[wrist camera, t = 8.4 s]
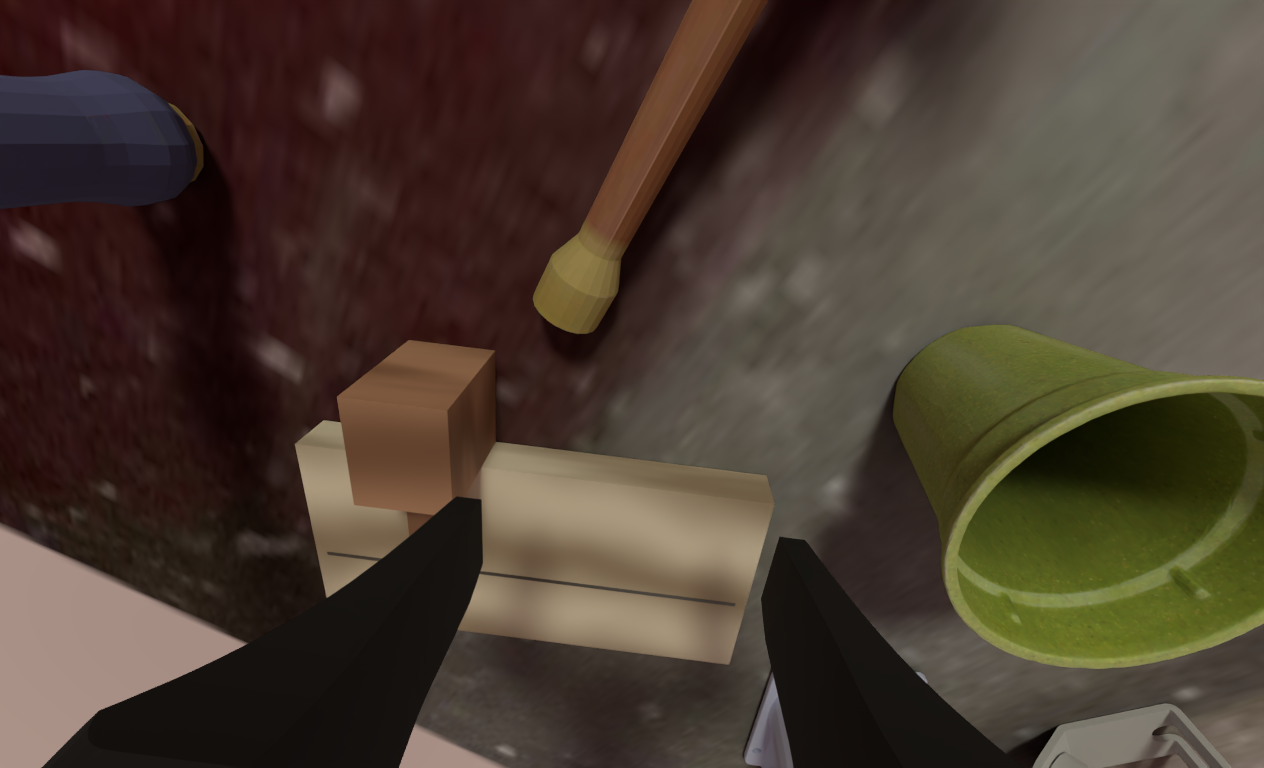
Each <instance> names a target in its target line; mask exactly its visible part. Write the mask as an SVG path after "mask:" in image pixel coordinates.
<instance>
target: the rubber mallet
mask: <svg viewBox="0 0 1264 768" xmlns="http://www.w3.org/2000/svg"><path fill="white" fill-rule="evenodd" d="M202 168H203V145H202V143H201V141H200V139H199V136H198V134H197V132H196V130H195V127H194V125H193V124H192V123H191V122H190V121H189V120H188V119H187V118H186V117H185V115H184V114H183V113H182V112H181V111H180V110H179V109H178V108H177V107H176V106H174V105H172V104H170V103H168V102H167V101H165V100H163V99H162V98H160V97H159V96H157V95H156V94H154V93H152V92H151V91H149V90H148V89H146V88H144V87H143V86H141V85H139V84H138V83H136V82H135V81H133V80H131V79H130V78H128V77H125V76H122V75H117V74H112V73H107V72H102V71H90V70H80V71H74V72H69V73H63V74H57V75H51V76H45V77H14V76H2V75H0V209H4V208H14V207H24V206H34V205H44V204H54V203H64V202H101V203H109V204H116V205H124V206H140V205H149V204H153V203H157V202H161V201H165V200H169V199H173V198H176V197H177V196H178V195H179V194H180V193H181V192H182V191H183V190H184V189H185V188H186V187H187V186H188V184H189V183H190V182H192V181H195V179H196V178H197V176H198V175H199V173H200V171H201V170H202Z"/></svg>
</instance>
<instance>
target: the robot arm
mask: <svg viewBox="0 0 1264 768" xmlns="http://www.w3.org/2000/svg"><path fill="white" fill-rule="evenodd" d="M482 565H483V540H482V499H474V498H466V497H458V496H456V497H455V498H454V499H452V500H451V501H450V502H449V503H448V504H446V505H445V506H444V507H443V508H442V509H441V510H439V511H438V512H437V513H436V514H435V515H434V516H433V517H431V518H430V519H429V520H428V521H427V522H426V523H424V524H423V525H422V526H421V527H420V528H419V529H417V530H416V531H415V532H414V533H413V534H412V535H410V536H409V537H408V538H407V539H405V540H404V541H403V542H402V543H401V544H399V545H398V546H397V547H396V548H394V549H393V550H392V551H391V552H390V553H388V554H387V555H386V556H384V557H383V558H382V559H381V560H379V561H378V562H377V563H375V564H374V565H373V566H371V567H370V568H368V569H367V570H366V571H364V572H363V573H362V574H360V575H359V576H358V577H356V578H355V579H354V580H352V581H351V582H350V583H348V584H347V585H345V586H344V587H342V588H341V589H339V590H338V591H337V592H335V593H334V594H332V595H331V596H329V597H328V598H326V599H324V600H323V601H321V602H320V603H318V604H317V605H315V606H314V607H312V608H310V609H309V610H307V611H306V612H304V613H302V614H301V615H299V616H297V617H295V618H294V619H292V620H290V621H288V622H286V623H285V624H283V625H281V626H279V627H277V628H276V629H274V630H272V631H270V632H269V633H267V634H265V635H263V636H261V637H260V638H258V639H256V640H254V641H252V642H251V643H249V644H247V645H245V646H243V647H241V648H239V649H237V650H235V651H233V652H231V653H229V654H227V655H225V656H223V657H221V658H219V659H217V660H215V661H213V662H211V663H209V664H206V665H204V666H202V667H200V668H198V669H196V670H194V671H192V672H189V673H187V674H185V675H183V676H181V677H179V678H176V679H174V680H172V681H170V682H167V683H165V684H162V685H160V686H157V687H155V688H153V689H150V690H148V691H146V692H143V693H141V694H139V695H136V696H134V697H131V698H129V699H127V700H124V701H122V702H120V703H117V704H115V705H112V706H110V707H107V708H105V709H102V710H100V711H98V712H97V713H96V714H95V715H94V716H93V717H92V718H91V719H90V720H89V721H88V722H87V723H86V724H85V725H84V726H83V727H82V728H81V729H80V730H79V731H78V732H77V733H76V734H75V735H74V736H72V738H71V739H70V740H69V741H68V742H67V743H66V744H65V745H64V746H63V747H62V748H61V749H60V750H59V751H58V752H57V753H56V754H55V755H54V756H53V757H52V758H51V759H50V760H49V761H48V762H47V763H46V764H45V765H44V766H43V767H42V768H399V765H400V763H401V760H402V757H403V754H404V752H405V749H406V746H407V744H408V741H409V738H410V735H411V732H412V730H413V727H414V724H415V722H416V719H417V716H418V714H419V712H420V709H421V707H422V705H423V702H424V700H425V698H426V695H427V693H428V691H429V689H430V687H431V685H432V682H433V680H434V678H435V676H436V674H437V672H438V670H439V668H440V666H441V663H442V661H443V659H444V657H445V655H446V653H447V651H448V649H449V647H450V644H451V642H452V640H453V638H454V636H455V634H456V632H457V630H458V627H459V625H460V623H461V621H462V619H463V617H464V615H465V612H466V610H467V608H468V606H469V604H470V601H471V598H472V595H473V592H474V589H475V586H476V583H477V580H478V577H479V574H480V571H481V568H482ZM761 602H762V613H763V623H764V631H765V640H766V645H767V650H768V654H769V659H770V663H771V668H772V673H771V676H770V679H769V682H768V685H767V688H766V691H765V694H764V697H763V700H762V703H761V706H760V709H759V712H758V714H757V717H756V720H755V723H754V726H753V729H752V732H751V735H750V738H749V741H748V744H747V747H746V750H745V753H744V757H745V761H746V763H748V764H750V765H756V766H761V768H1023V767H1022V766H1020V765H1019V764H1018V763H1017V762H1015V761H1014V760H1013V759H1012V758H1010V757H1009V756H1008V755H1007V754H1005V753H1004V752H1003V751H1002V750H1001V749H999V748H998V747H997V746H996V745H994V744H993V743H992V742H991V741H990V740H988V739H987V738H986V737H985V736H984V735H983V734H982V733H980V732H979V731H978V730H977V729H976V728H975V727H974V726H972V725H971V724H970V723H969V722H968V721H967V720H966V719H964V718H963V717H962V716H961V715H960V714H959V713H958V712H956V711H955V710H954V709H953V708H952V707H951V706H950V705H949V704H948V703H947V702H946V701H944V700H943V699H942V698H941V697H940V696H939V695H938V694H937V693H936V692H935V691H934V690H933V689H932V688H931V687H930V686H929V685H928V684H927V683H928V682H927V680H926V678H925V676H924V674H922V673H920V672H915V671H914V670H913V669H912V668H911V667H910V666H909V665H908V664H907V663H906V662H905V661H904V660H903V659H902V658H901V657H900V656H899V655H898V654H897V653H896V651H895V650H894V649H893V648H892V647H891V646H890V645H889V644H888V643H887V641H886V640H885V639H884V638H883V637H882V636H881V635H880V634H879V633H878V631H877V630H876V629H875V628H874V627H873V626H872V624H871V623H870V622H869V621H868V620H867V619H866V617H865V616H864V615H863V614H862V613H861V611H860V610H859V609H858V608H857V607H856V605H855V604H854V603H853V602H852V600H851V599H850V598H849V597H848V595H847V594H846V593H845V592H844V590H843V589H842V588H841V586H840V585H839V584H838V583H837V581H836V580H835V579H834V577H833V576H832V575H831V574H830V572H829V571H828V570H827V568H826V567H825V566H824V564H823V563H822V562H821V560H820V559H819V558H818V556H817V555H816V554H815V552H814V551H813V550H812V548H811V547H810V546H809V545H808V543H807V542H806V541H805V540H800V539H792V538H784V537H779V540H778V544H777V547H776V551H775V554H774V557H773V561H772V564H771V567H770V571H769V574H768V577H767V581H766V584H765V587H764V591H763V594H762V597H761Z"/></svg>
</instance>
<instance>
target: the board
mask: <svg viewBox="0 0 1264 768" xmlns="http://www.w3.org/2000/svg"><path fill="white" fill-rule="evenodd" d="M295 447H296V452H297V456H298V461H299V466H300V471H301V476H302V481H303V485H304V490H305V495H306V500H307V505H308V510H309V514H310V519H311V524H312V529H313V534H314V539H315V543H316V548H317V553H318V558H319V563H320V568H321V572H322V577H323V582H324V587H325V592H326V597H327V598H328V597H329V596H331V595H332V594H334V593H335V592H337V591H338V590H339V589H341V588H342V587H344V586H345V585H347V584H348V583H350V582H351V581H352V580H354V579H355V578H356V577H358V576H359V575H360V574H362V573H363V572H364V571H366V570H367V569H368V568H370V567H371V566H373V565H374V564H375V563H377V562H378V561H379V560H381V559H382V558H383V557H384V556H386V555H387V554H388V553H390V552H391V551H392V550H393V549H394V548H396V547H397V546H398V545H399V544H401V543H402V542H403V541H404V540H405V539H407V538H408V537H409V530H408V520H407V512H405V511H397V510H389V509H381V508H373V507H365V506H357V505H354V502H353V495H352V489H351V483H350V476H349V470H348V464H347V457H346V451H345V445H344V439H343V432H342V426H341V422H333V421H325V420H324V421H322V422H321V423H320V424H319V425H317V426H316V427H315V428H314V429H313V430H311V431H310V432H309V433H308V434H307V435H305V436H304V437H303V438H302V439H301V440H299V441H298V442H297V443H296V444H295ZM465 497H466V498H474V499H482V540H483V565H482V568H481V571H480V574H479V577H478V580H477V583H476V586H475V589H474V592H473V595H472V598H471V601H470V604H469V606H468V608H467V610H466V612H465V615H464V617H463V619H462V621H461V623H460V625H459V627H458V630H461V631H469V632H477V633H485V634H493V635H501V636H508V637H516V638H524V639H532V640H540V641H547V642H555V643H563V644H571V645H579V646H586V647H594V648H602V649H610V650H618V651H625V652H633V653H641V654H649V655H657V656H665V657H672V658H680V659H688V660H696V661H704V662H711V663H719V664H727V665H729V663H730V660H731V656H732V653H733V649H734V646H735V642H736V639H737V635H738V632H739V628H740V625H741V621H742V618H743V614H744V611H745V607H746V603H747V600H748V596H749V593H750V589H751V586H752V582H753V579H754V575H755V572H756V568H757V565H758V561H759V558H760V554H761V551H762V547H763V544H764V540H765V536H766V533H767V529H768V526H769V522H770V519H771V515H772V512H773V508H774V505H775V503H774V500H773V497H772V493H771V490H770V486H769V483H768V480H767V476H766V475H758V474H750V473H742V472H734V471H726V470H718V469H710V468H702V467H694V466H686V465H678V464H670V463H662V462H654V461H646V460H638V459H630V458H622V457H614V456H606V455H598V454H590V453H582V452H574V451H566V450H558V449H550V448H542V447H534V446H525V445H517V444H509V443H501V442H495V444H494V446H493V447H492V449H491V451H490V453H489V455H488V456H487V458H486V460H485V462H484V463H483V465H482V467H481V469H480V471H479V472H478V474H477V476H476V478H475V479H474V481H473V483H472V485H471V487H470V488H469V490H468V492H467V494H466V496H465Z"/></svg>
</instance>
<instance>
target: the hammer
mask: <svg viewBox="0 0 1264 768" xmlns="http://www.w3.org/2000/svg"><path fill="white" fill-rule="evenodd" d="M767 2H768V0H692V2H691V4H690V6H689V8H688V10H687V12H686V14H685V16H684V18H683V20H682V22H681V24H680V26H679V28H678V30H677V32H676V34H675V37H674V39H673V41H672V43H671V45H670V47H669V49H668V51H667V53H666V55H665V57H664V59H663V61H662V63H661V65H660V67H659V69H658V71H657V74H656V76H655V78H654V80H653V82H652V84H651V86H650V88H649V90H648V92H647V94H646V96H645V98H644V100H643V102H642V104H641V106H640V108H639V111H638V113H637V115H636V117H635V119H634V121H633V123H632V125H631V127H630V129H629V131H628V133H627V135H626V137H625V139H624V141H623V143H622V145H621V148H620V150H619V152H618V154H617V156H616V158H615V160H614V162H613V164H612V166H611V168H610V170H609V172H608V174H607V176H606V178H605V180H604V182H603V185H602V187H601V189H600V191H599V193H598V195H597V197H596V199H595V201H594V203H593V205H592V207H591V209H590V211H589V213H588V215H587V217H586V219H585V222H584V224H583V226H582V228H581V230H580V232H579V233H578V234H577V235H576V236H575V237H573V238H572V239H571V240H570V241H568V242H567V243H566V244H565V245H563V246H562V247H561V248H560V249H558V250H557V251H556V252H555V253H553V254H552V256H551V258H550V260H549V263H548V265H547V267H546V269H545V271H544V273H543V275H542V278H541V280H540V282H539V284H538V286H537V288H536V290H535V293H534V296H533V301H534V305H535V307H536V308H537V310H538V312H539V313H540V314H541V315H542V316H543V317H544V318H545V319H546V320H547V321H549V322H550V323H552V324H553V325H555V326H556V327H558V328H561V329H563V330H565V331H568V332H572V333H576V334H587V333H590V332H593V331H594V330H595V329H596V328H597V327H598V325H599V323H600V321H601V320H602V318H603V316H604V315H605V313H606V311H607V310H608V308H609V306H610V305H611V303H612V301H613V299H614V298H615V296H616V294H617V293H618V287H619V276H620V266H621V257H622V256H623V254H624V252H625V250H626V249H627V247H628V245H629V243H630V242H631V240H632V238H633V236H634V235H635V233H636V231H637V229H638V228H639V226H640V224H641V222H642V221H643V219H644V217H645V215H646V214H647V212H648V210H649V208H650V207H651V205H652V203H653V201H654V200H655V198H656V196H657V194H658V193H659V191H660V189H661V187H662V186H663V184H664V182H665V180H666V179H667V177H668V175H669V173H670V172H671V170H672V168H673V166H674V165H675V163H676V161H677V159H678V158H679V156H680V154H681V152H682V151H683V149H684V147H685V145H686V144H687V142H688V140H689V138H690V137H691V135H692V133H693V131H694V130H695V128H696V126H697V124H698V123H699V121H700V119H701V117H702V116H703V114H704V112H705V110H706V109H707V107H708V105H709V103H710V102H711V100H712V98H713V96H714V95H715V93H716V91H717V89H718V88H719V86H720V84H721V82H722V81H723V79H724V77H725V75H726V74H727V72H728V70H729V68H730V67H731V65H732V63H733V61H734V60H735V58H736V56H737V54H738V53H739V51H740V49H741V47H742V46H743V44H744V42H745V40H746V39H747V37H748V35H749V33H750V32H751V30H752V28H753V26H754V25H755V23H756V21H757V19H758V18H759V16H760V14H761V12H762V11H763V9H764V7H765V5H766V4H767Z"/></svg>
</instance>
